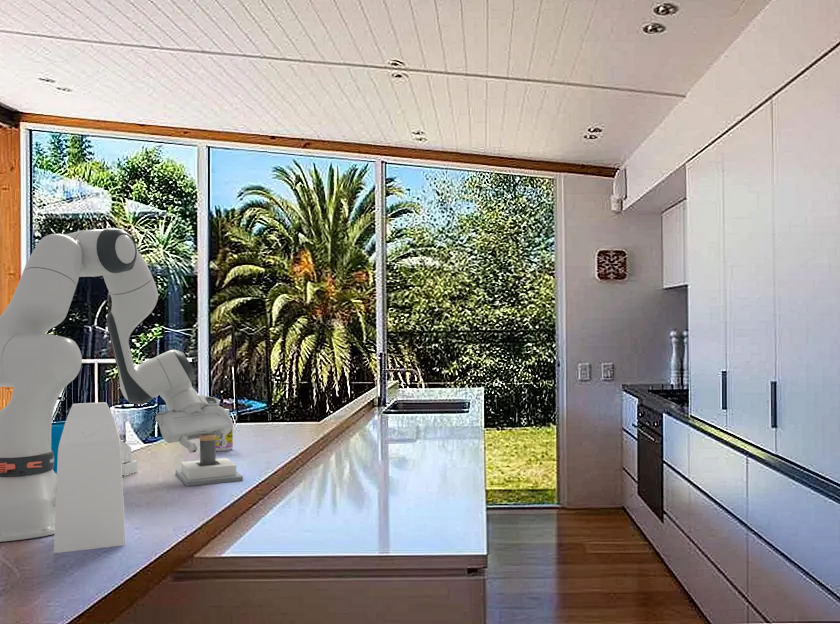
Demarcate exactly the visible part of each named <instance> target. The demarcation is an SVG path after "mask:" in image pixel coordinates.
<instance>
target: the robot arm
mask: <svg viewBox="0 0 840 624" xmlns="http://www.w3.org/2000/svg"><path fill="white" fill-rule="evenodd" d="M82 277H83V278H85V277H92V278H95V277H103V279H104V283H105V285H106V288H107V290H108V292H109V296H110V298H111V309H110V311H109V313H108V314H107V316H106V326H107V331H108V332H107V333H108V335H109V340H110V344H111V347H112V349H111V350H112V353H113V356H114V361H115V364H116V368H117V372H118V378H119V380H118V381H119V388H120V391H121V394H122V396H123V397H124V398H125V400H126V401H127V402H129V403H131V404H134V405H142V406H144V405H145V404H147V403H148V402H149V401H152V400H153V399H154V398H156V397H158V396H160V398H161V399H162V400H163V401H164V402H165V405H166V409H167V410H165V411H159V412H158V413H156V414H155V415H154V416H155V417H154V419H155V421H156V422H157V424H158V427H159V431H160V434H161V436H162V438H163V440H164V442H166V443H168V444H172V443H177V442H179V444H180V445H182V446H183V447H185V448H186V449H187V450H188V452H189V453H190V454H192V453H195V452H197V450H198V446H197V445H196V443H195V442H194V443H192V442H191V441H192V440H200V434H206V433H214V434H216V436H217V437H218V438H220V441H219V442H218V445H219V446H220V448H222V447H226V445H227V441H226V440H225V435H226V434H228V433H229V432H230V431H231V429H232V427H233V426H234V422H233V419H232V420H231V418H232V417H231V416H230V415H228V413H227V412H226V411H225V409H226V408H224V407H223V406H220V403H221V402H220V400H219V398H217V397H212V396H207V395H204V394H200V393H198V391H197V390H196V389H195V388H194V387H193V384H192V382H193V381H194V376H195V369H194V368H193V365H191V362H189V360H188V358H187V356H186V353H184V352H183V351H180V350H177V349H173V348H172V349H170V350H167V351H165V352H163V353H161V354H158V355H156V356H154V357H152V358H150V359H148V360H145V361H144V362H141V363H139V364H134V360H133V359H134V358H133V355H132V351H131V348H130V343H129V340H130V337H131V334H132V332H133V331H134V330H135V329H136V328H137V326H138V325H140V323H142V322H143V321H144V320H145V319H146V318H147V317H148V316H149V315H150V314H151V313H152V312H153V310H154V309H155V307H156V305H157V303H158V300H159V293H158V288H157V284H156V282H155V279H154V277H153V275H152V272H151V270H150V268H149V267H148V264H147V263H146V261H145V259H144V257H143V256H142V255H141V252H139V250H138V249H137V244H136V243H135V241H134V238H133V237H132V236H131V235H130V234H129V233H128V232H127V231H126V230H124V229H122V228H121V229H120V228H117V227H107V228H104V229H103V228H102V229H100V228H99V229H97V228H96V229H84V230H83V229H82V230H78V231H74V232H70V233H62V234H61V233H51V234H47V235H46V236H43V237H42V238H41V239H40V240H39V242H38V243H37V244H36V246H35V248H34V249H33V251H32V252H31V254H30V256H29V258H28V260H27V262H26V264H25V266H24V269H23V271H22V273H21V276H20V279H19V281H18V284H17V286H16V288H15V291H14V293H13V296H12V298H11V300H10V302H9V303H8V305H7V306H6V308H5V309H4V310H3V312H2V313H1V314H0V388H1V387H4V388H5V387H6V388H7V387H8V388H12V390H13V391H12V395H11V397H10V400H9V402H8V404H7V405H6V406H5V407H3V408H1V409H0V542H11V541H20V540H27V539H35V538H41V537H46V536H50V535H54V534H55V510H56V485H57V472H56V471H54V468H55V455H54V451H53V450H52V426H53V414H54V410H55V406H56V403H57V402H58V399H59V398H60V395H61V394H62V392H63V390H64V389H65V388H66V387H67V386H68V385H69V384H70V383H72V381H74V380H75V378H77V376H79V375H78V374H79V373H80V371H81V367H82V364H83V363H82V362H83V356H82V352H81V350H80V348H79V345H78V344H77V342H76V341H75V340H73V339H72V338H69V337H65V336H61V335H56V334H51V333H47V332H49V331H50V330H51V329H53V328H55V327H57V326H58V325H60V324H62V323H63V321H64V320H65V319H66V317H67V316H68V315H67V314H68V312H69V310H70V306H71V304H72V302H73V298H74V294H75V293H76V290H77V286H78V283H79V279H80V278H82ZM230 417H231V418H230Z"/></svg>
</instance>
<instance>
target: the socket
mask: <svg viewBox="0 0 840 624" xmlns="http://www.w3.org/2000/svg"><path fill="white" fill-rule="evenodd" d="M175 474H176V476H177V477H178V478H179V479H180V480H181V482H182V483H184V485H185V486H186V487H192V486H193V487H194V486H202V485H212V484H220V483H221V484H222V483H230V482H231V483H232V482H239V481H240V482H241V481H243V480H244V476H243V475H242V474H240V473H239V472H238V471H237V465H236V463H234V462H233V461H231V460H230V459H229V458H227V457H224V458H223V457H222V458H216V465H209V466H200V459H199V460H191V461H189V460H188V461H181V462H180V469H175Z"/></svg>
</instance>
